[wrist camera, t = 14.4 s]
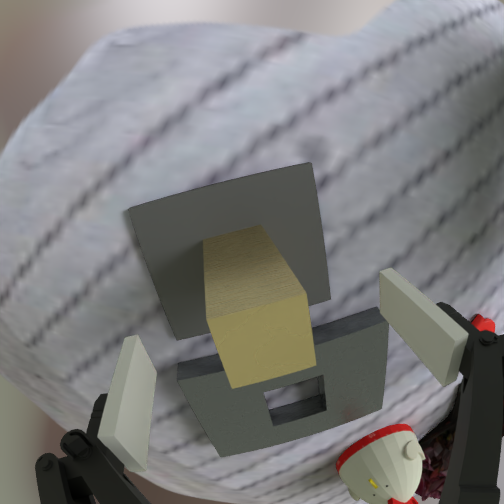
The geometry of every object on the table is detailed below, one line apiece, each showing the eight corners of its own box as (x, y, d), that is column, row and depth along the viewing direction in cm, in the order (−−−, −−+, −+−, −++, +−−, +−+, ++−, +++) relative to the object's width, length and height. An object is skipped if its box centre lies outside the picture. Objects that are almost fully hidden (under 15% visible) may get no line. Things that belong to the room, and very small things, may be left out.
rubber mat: (309, 162, 23) (311, 162, 23) (328, 296, 28) (330, 299, 27) (129, 207, 22) (128, 209, 22) (177, 336, 27) (176, 340, 26)
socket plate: (376, 306, 29) (388, 319, 27) (373, 395, 35) (381, 408, 32) (177, 363, 28) (177, 380, 26) (218, 441, 33) (220, 457, 31)
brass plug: (261, 224, 24) (306, 293, 14) (272, 276, 26) (316, 365, 15) (202, 239, 24) (206, 319, 13) (218, 291, 25) (232, 388, 15)
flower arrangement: (489, 341, 37) (547, 396, 23) (520, 358, 43) (562, 398, 29) (374, 469, 45) (403, 529, 31) (427, 463, 50) (455, 508, 37)
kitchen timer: (382, 418, 37) (428, 496, 24) (423, 427, 42) (463, 488, 28) (318, 470, 40) (346, 544, 26) (368, 473, 45) (396, 533, 31)
